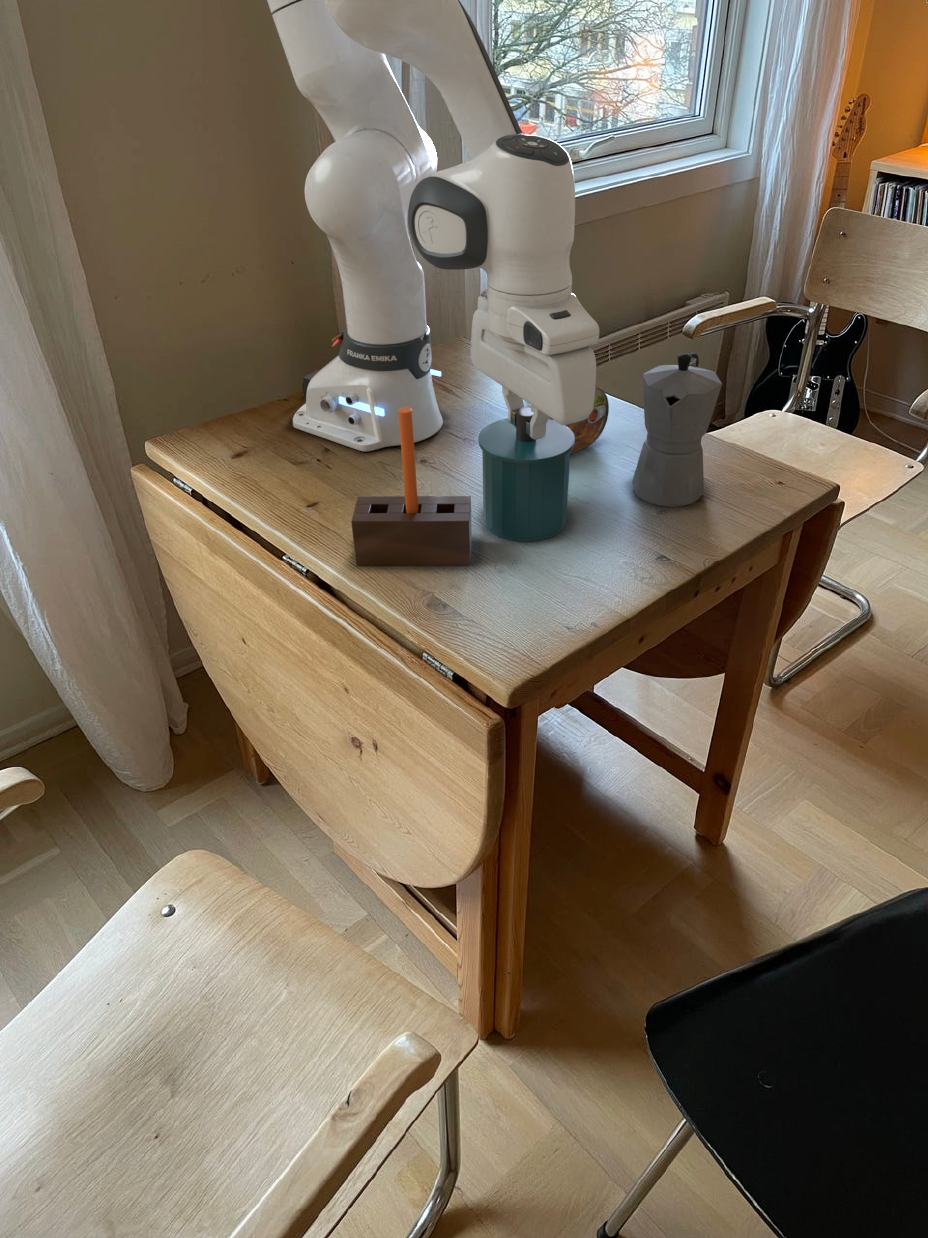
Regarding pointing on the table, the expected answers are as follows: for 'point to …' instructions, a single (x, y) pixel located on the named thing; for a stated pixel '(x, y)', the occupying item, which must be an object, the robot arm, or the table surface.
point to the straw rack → (412, 531)
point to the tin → (591, 423)
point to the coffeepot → (675, 432)
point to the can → (525, 498)
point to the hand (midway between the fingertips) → (526, 429)
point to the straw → (408, 459)
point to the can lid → (525, 440)
